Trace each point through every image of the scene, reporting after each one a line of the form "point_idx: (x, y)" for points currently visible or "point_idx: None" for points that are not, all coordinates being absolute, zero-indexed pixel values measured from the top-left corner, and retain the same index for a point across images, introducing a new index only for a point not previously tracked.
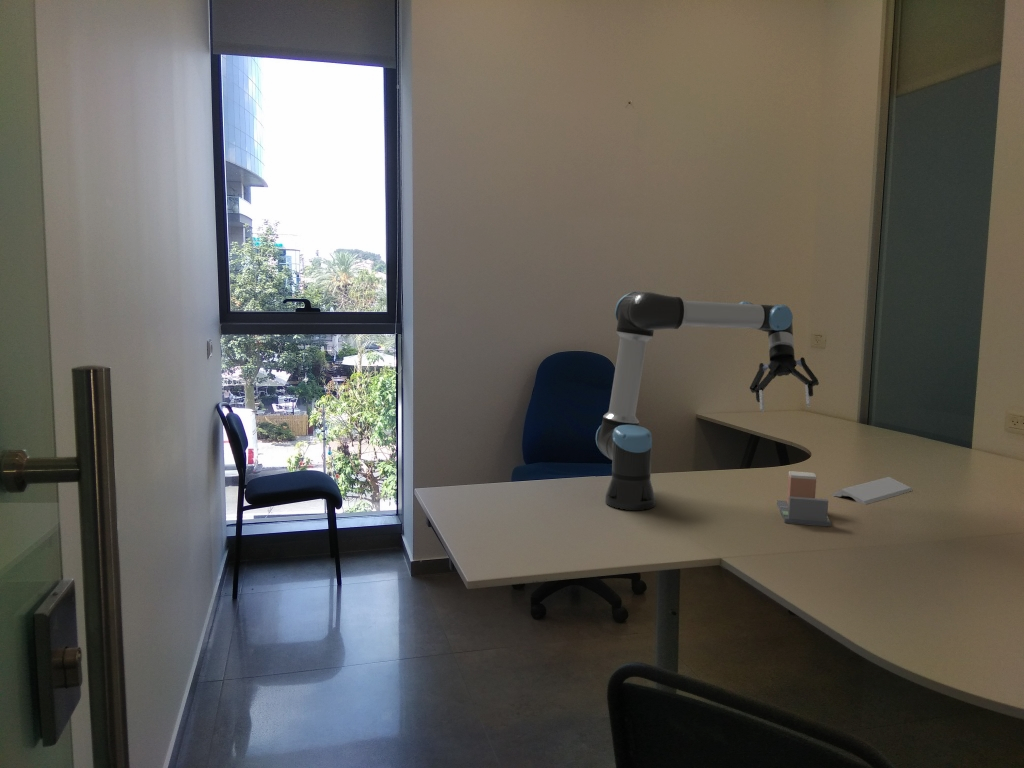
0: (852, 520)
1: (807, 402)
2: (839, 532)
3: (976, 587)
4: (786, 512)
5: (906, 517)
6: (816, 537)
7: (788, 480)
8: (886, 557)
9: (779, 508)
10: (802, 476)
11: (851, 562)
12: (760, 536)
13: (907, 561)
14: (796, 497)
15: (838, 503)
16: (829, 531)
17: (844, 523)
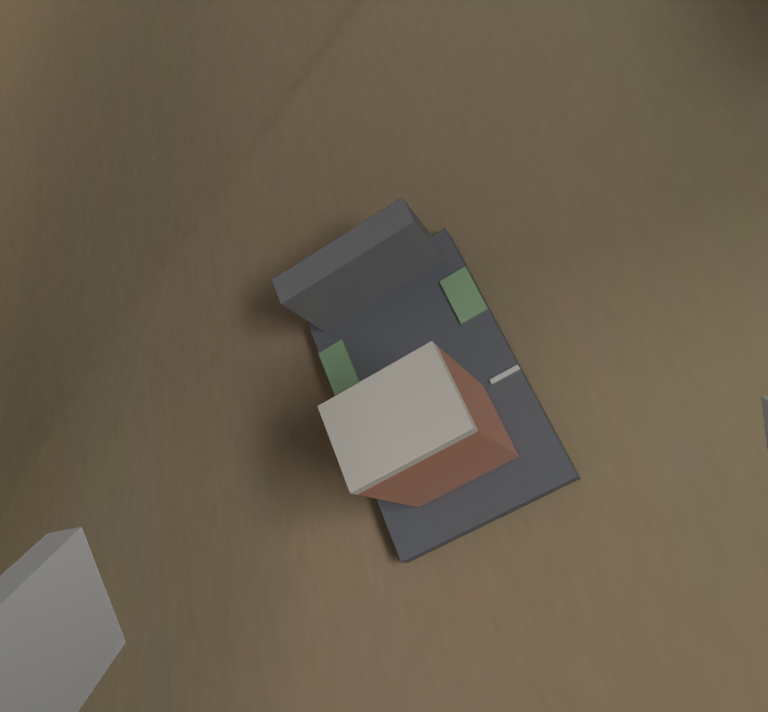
0: (264, 456)
1: (56, 539)
2: None
3: (17, 150)
4: (465, 301)
5: None
6: (324, 177)
7: (485, 430)
8: (155, 175)
9: (531, 388)
10: (380, 371)
11: (217, 73)
12: (466, 44)
13: (116, 188)
14: (385, 229)
15: (352, 702)
16: None
17: (281, 396)
